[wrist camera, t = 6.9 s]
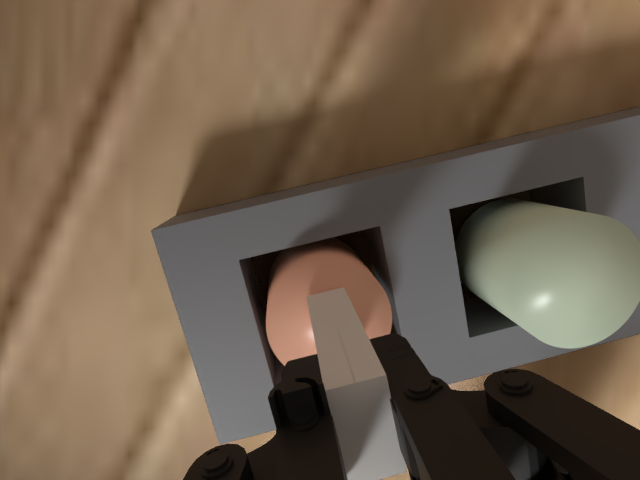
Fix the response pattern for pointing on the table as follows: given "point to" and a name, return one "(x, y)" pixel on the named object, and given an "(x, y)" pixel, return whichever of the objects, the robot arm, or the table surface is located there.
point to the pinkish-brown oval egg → (316, 277)
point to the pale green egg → (551, 269)
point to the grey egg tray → (388, 256)
